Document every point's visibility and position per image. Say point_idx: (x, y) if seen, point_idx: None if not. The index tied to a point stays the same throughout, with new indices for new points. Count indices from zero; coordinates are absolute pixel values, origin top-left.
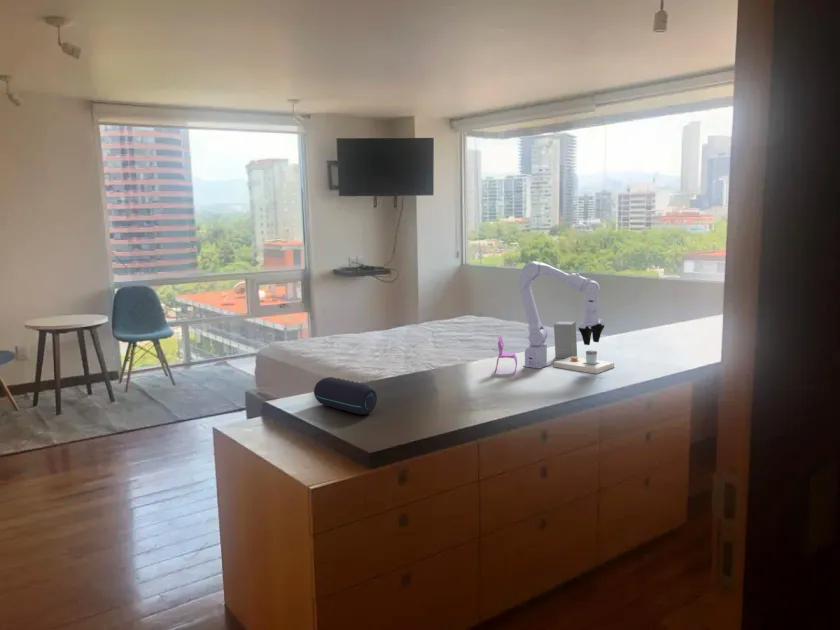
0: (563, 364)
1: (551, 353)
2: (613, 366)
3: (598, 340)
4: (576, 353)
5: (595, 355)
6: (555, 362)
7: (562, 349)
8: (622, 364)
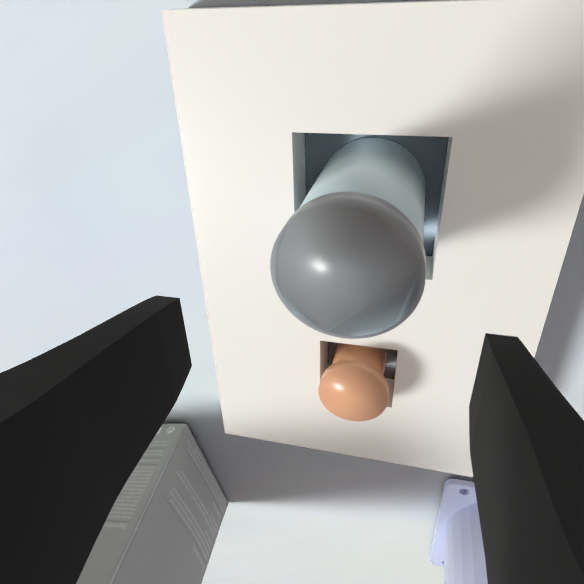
0: None
1: None
2: (196, 8)
3: (153, 308)
4: None
5: (363, 190)
6: None
7: (193, 525)
8: (26, 11)
